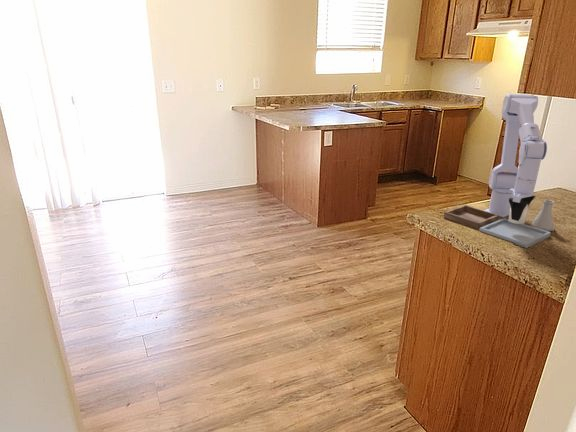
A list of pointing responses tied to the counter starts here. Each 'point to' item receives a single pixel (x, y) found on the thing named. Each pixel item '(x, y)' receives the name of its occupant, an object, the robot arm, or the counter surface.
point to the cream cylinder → (522, 218)
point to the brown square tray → (471, 216)
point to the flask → (545, 217)
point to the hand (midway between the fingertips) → (517, 217)
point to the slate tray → (515, 232)
